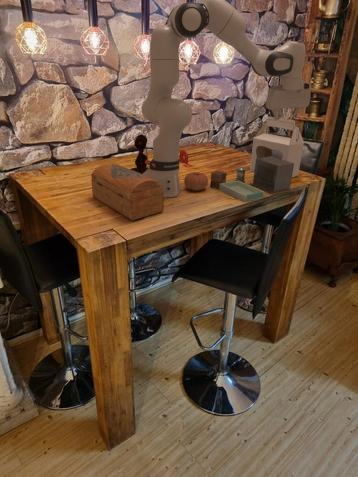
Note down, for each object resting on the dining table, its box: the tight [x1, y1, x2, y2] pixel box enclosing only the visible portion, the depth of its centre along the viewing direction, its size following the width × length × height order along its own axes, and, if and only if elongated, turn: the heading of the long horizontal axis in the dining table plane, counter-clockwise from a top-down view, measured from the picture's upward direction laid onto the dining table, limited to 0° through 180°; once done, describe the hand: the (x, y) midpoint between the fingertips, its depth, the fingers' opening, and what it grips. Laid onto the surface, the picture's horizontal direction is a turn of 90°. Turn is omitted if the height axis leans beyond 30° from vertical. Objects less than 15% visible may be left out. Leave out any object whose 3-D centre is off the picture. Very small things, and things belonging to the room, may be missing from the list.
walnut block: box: [210, 170, 227, 191], centre depth 163 cm, size 5×5×7 cm
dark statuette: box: [130, 134, 149, 174], centre depth 172 cm, size 15×15×20 cm
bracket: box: [178, 150, 194, 168], centre depth 195 cm, size 12×4×8 cm, turn 36°
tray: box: [219, 180, 266, 203], centre depth 157 cm, size 11×18×3 cm, turn 30°
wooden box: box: [90, 162, 165, 221], centre depth 140 cm, size 30×16×14 cm, turn 39°
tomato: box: [183, 171, 209, 192], centre depth 160 cm, size 11×11×8 cm
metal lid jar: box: [235, 166, 246, 183], centre depth 171 cm, size 4×4×7 cm
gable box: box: [249, 116, 305, 178], centre depth 182 cm, size 22×13×28 cm, turn 41°
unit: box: [249, 155, 294, 196], centre depth 163 cm, size 12×16×13 cm
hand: (285, 119), depth 155 cm, fingers open, 8 cm apart
